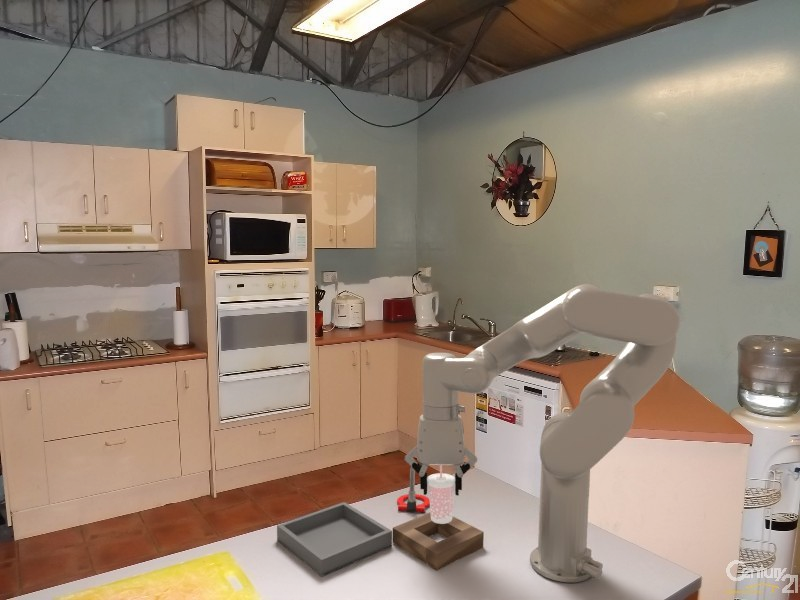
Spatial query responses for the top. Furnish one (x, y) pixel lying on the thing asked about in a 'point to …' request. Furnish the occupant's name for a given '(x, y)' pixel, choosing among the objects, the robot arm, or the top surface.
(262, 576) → the top surface
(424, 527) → the square wooden frame block
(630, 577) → the top surface
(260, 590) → the top surface
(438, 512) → the beverage cup
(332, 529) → the tray
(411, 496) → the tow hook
